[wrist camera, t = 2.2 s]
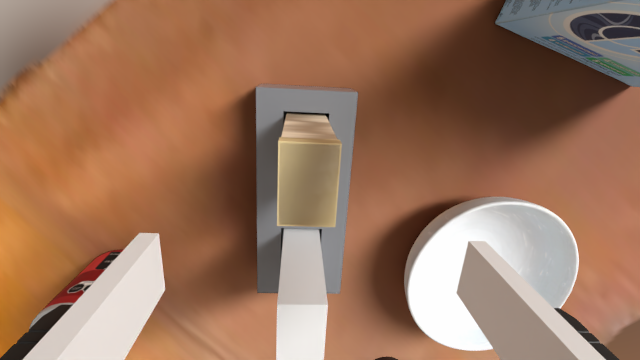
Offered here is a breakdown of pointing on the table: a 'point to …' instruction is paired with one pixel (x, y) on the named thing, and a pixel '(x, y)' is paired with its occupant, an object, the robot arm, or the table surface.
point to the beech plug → (308, 171)
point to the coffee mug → (386, 358)
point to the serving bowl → (507, 240)
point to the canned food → (80, 283)
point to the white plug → (301, 297)
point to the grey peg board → (268, 130)
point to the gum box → (582, 31)
